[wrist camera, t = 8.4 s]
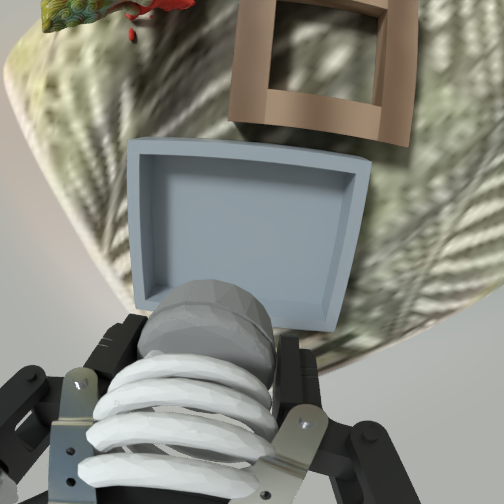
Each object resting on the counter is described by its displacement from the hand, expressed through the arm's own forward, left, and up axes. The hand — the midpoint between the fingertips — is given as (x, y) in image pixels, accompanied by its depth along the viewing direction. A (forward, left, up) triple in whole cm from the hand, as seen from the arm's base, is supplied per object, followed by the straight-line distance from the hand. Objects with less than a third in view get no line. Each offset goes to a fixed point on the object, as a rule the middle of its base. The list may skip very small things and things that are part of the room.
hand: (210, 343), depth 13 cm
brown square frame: (-5, -15, -15) cm, 22 cm away
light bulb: (0, 0, -4) cm, 4 cm away
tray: (0, 0, -15) cm, 15 cm away
